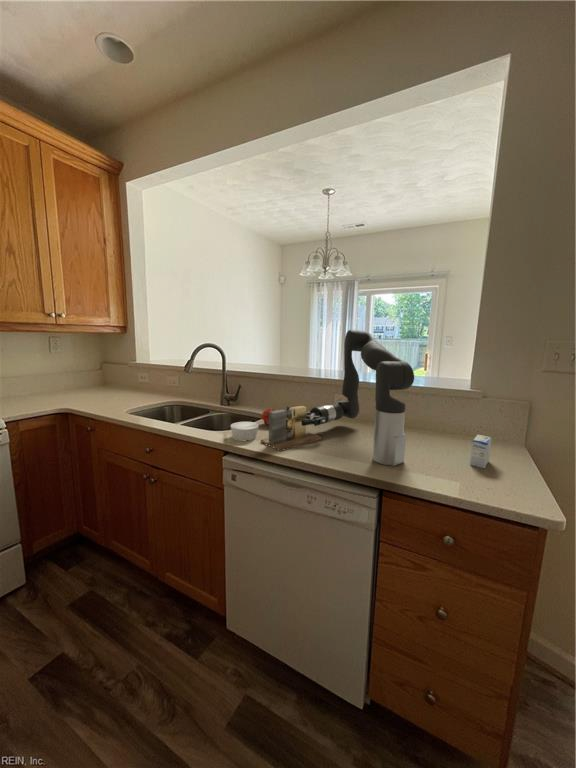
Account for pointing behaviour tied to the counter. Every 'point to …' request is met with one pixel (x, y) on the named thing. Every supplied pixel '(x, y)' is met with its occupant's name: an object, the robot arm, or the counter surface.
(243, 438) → the ramekin
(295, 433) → the pale yellow flat block
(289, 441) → the hinge base
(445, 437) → the counter surface
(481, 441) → the medicine box
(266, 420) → the dragon fruit
